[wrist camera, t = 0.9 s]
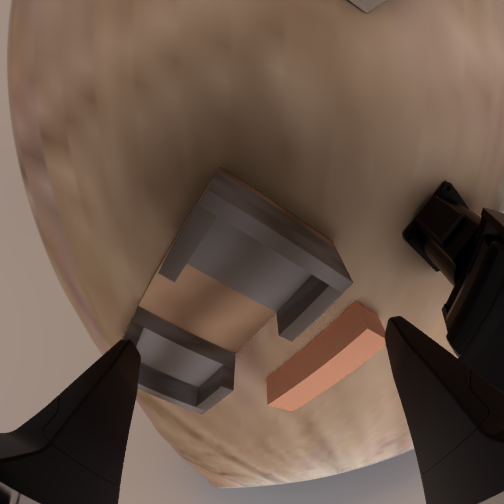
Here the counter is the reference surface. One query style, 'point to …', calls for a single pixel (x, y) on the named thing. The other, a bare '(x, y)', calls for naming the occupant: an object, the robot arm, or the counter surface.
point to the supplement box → (367, 4)
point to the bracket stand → (229, 291)
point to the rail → (326, 358)
